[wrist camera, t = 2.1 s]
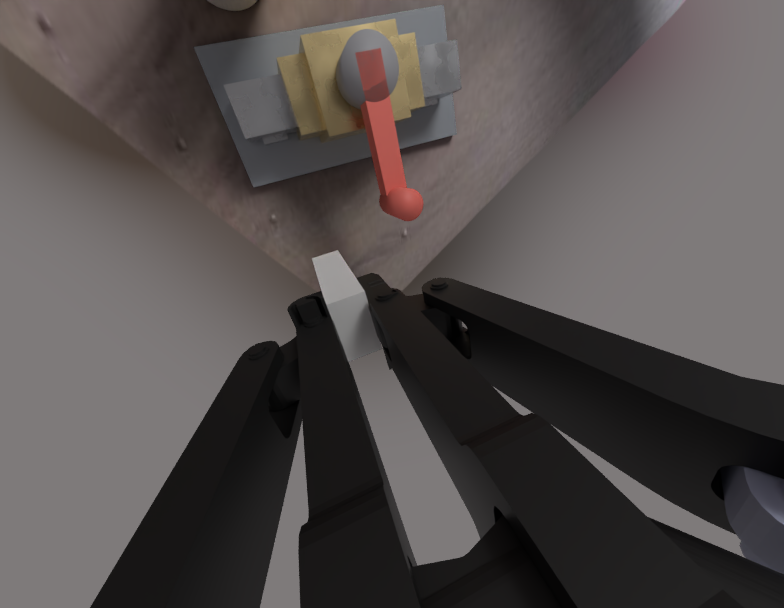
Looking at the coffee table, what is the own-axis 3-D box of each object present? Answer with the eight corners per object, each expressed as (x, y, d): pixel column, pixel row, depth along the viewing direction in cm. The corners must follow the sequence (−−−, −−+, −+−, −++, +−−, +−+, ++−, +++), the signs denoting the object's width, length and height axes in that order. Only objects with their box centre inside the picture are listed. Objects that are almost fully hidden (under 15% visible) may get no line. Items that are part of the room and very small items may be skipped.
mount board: (439, 9, 31) (443, 4, 30) (452, 135, 37) (456, 134, 36) (196, 51, 27) (193, 47, 26) (254, 187, 32) (253, 187, 31)
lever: (328, 50, 23) (339, 18, 18) (379, 41, 24) (403, 7, 19) (371, 218, 29) (388, 227, 25) (410, 206, 30) (434, 213, 25)
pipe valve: (434, 37, 31) (469, 5, 25) (443, 113, 34) (476, 101, 28) (224, 77, 27) (206, 51, 21) (257, 159, 31) (249, 155, 24)
